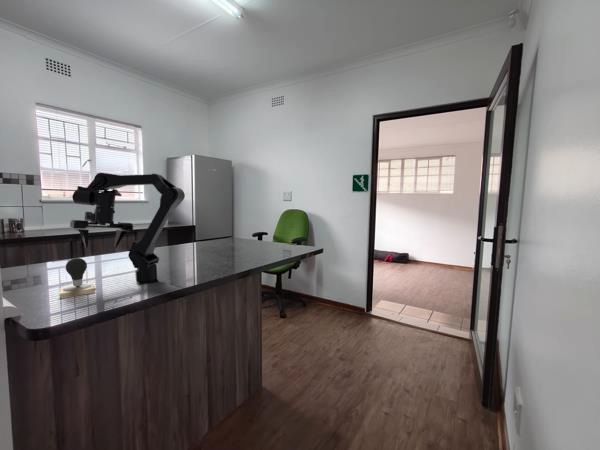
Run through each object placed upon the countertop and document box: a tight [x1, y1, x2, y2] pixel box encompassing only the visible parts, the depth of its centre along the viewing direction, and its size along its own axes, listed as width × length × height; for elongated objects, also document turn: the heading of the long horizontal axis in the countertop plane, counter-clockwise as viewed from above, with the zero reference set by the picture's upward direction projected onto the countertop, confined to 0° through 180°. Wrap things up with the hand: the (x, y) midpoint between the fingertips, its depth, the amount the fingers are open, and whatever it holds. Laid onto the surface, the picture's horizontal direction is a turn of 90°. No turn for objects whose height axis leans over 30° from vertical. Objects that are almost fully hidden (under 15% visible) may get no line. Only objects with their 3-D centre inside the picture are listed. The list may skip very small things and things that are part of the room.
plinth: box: [59, 282, 96, 299], centre depth 94 cm, size 9×9×2 cm
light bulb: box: [65, 257, 88, 287], centre depth 94 cm, size 6×6×10 cm
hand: (101, 248), depth 104 cm, fingers open, 9 cm apart
